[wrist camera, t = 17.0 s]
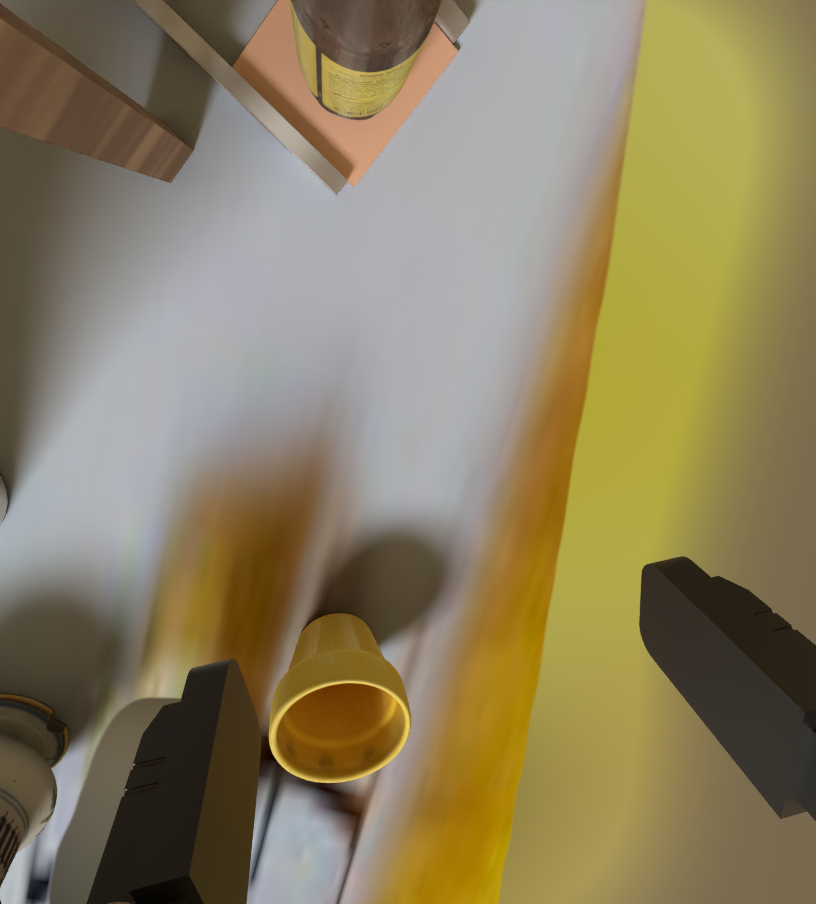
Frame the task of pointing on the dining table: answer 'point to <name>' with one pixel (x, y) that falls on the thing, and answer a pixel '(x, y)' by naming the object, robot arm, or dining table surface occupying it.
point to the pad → (285, 89)
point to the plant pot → (338, 704)
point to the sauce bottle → (359, 50)
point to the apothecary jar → (26, 772)
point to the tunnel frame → (119, 117)
